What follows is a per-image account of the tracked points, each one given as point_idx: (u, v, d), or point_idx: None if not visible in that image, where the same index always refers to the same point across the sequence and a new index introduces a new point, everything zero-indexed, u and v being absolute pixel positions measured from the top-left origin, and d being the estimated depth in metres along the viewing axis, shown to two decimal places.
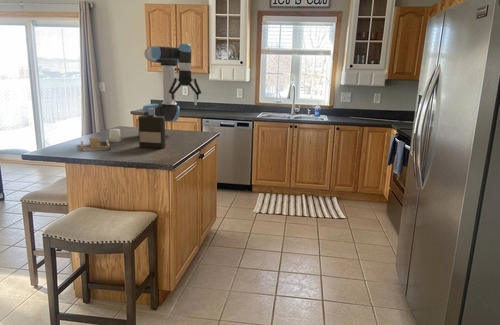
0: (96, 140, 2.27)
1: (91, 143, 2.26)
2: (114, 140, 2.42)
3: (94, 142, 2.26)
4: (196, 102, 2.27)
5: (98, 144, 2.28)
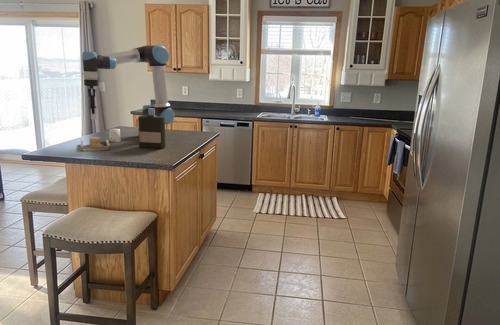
0: (96, 140, 2.27)
1: (91, 143, 2.26)
2: (114, 140, 2.42)
3: (94, 142, 2.26)
4: None
5: (98, 144, 2.28)
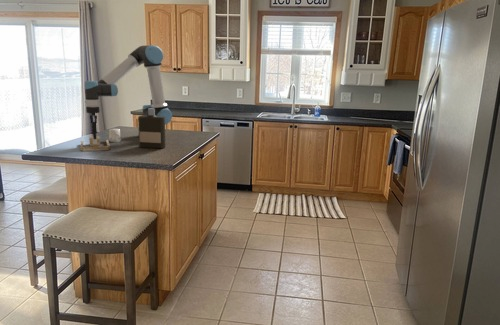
0: None
1: (91, 142, 2.27)
2: (114, 140, 2.42)
3: None
4: None
5: (98, 143, 2.29)
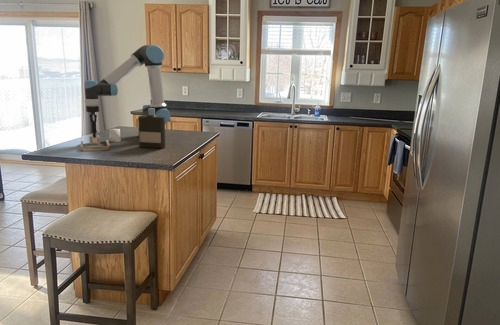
0: None
1: (91, 141, 2.31)
2: (114, 140, 2.42)
3: None
4: (92, 139, 2.30)
5: (98, 142, 2.33)
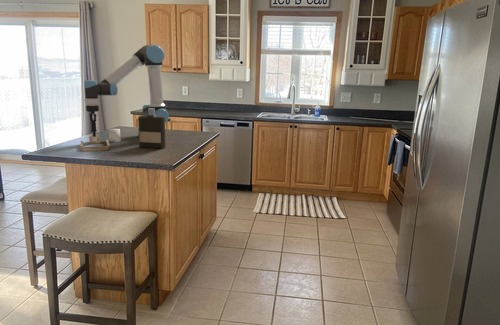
0: None
1: (91, 140, 2.34)
2: (114, 140, 2.42)
3: None
4: (92, 139, 2.33)
5: (97, 141, 2.36)
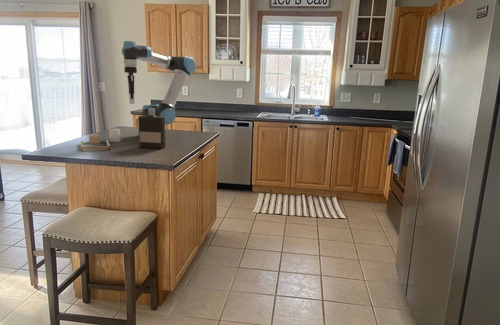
0: (96, 137, 2.35)
1: (91, 140, 2.34)
2: (114, 140, 2.42)
3: (94, 139, 2.35)
4: None
5: (98, 141, 2.36)
